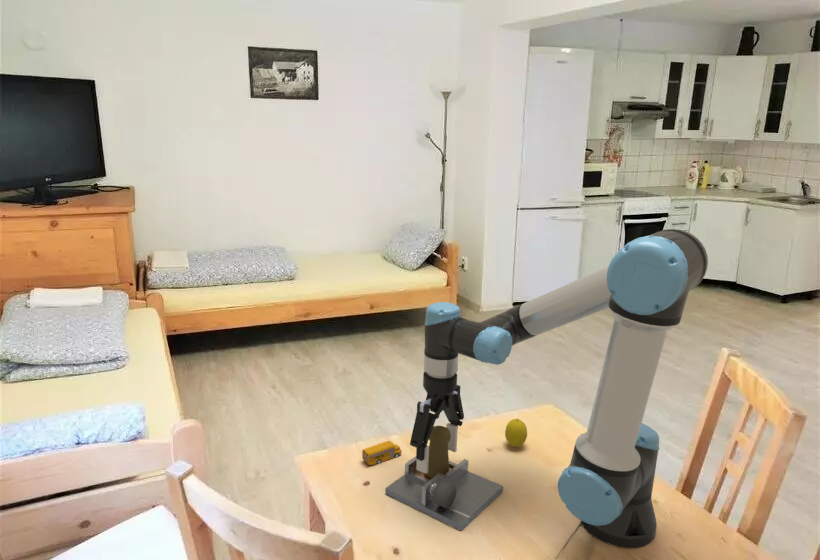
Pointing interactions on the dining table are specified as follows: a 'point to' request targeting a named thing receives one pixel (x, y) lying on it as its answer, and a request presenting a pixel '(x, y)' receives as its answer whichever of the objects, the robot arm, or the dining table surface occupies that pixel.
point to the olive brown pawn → (438, 451)
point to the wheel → (445, 494)
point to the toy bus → (380, 453)
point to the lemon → (516, 432)
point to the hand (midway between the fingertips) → (437, 460)
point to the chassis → (468, 500)
